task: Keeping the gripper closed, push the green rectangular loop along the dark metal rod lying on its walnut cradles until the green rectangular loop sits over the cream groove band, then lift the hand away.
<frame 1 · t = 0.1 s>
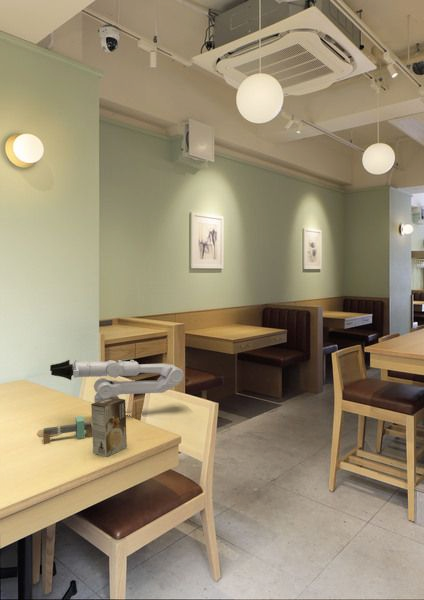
hand: (50, 369, 160), 22 cm above the table, tool horizontal, fingers open, 7 cm apart
green rectangular loop: (80, 427, 151), point 3 cm above the table, slide at 0.0 cm
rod: (68, 437, 150), on the table
coaster: (50, 432, 155), on the table
coffee box: (109, 451, 139), on the table
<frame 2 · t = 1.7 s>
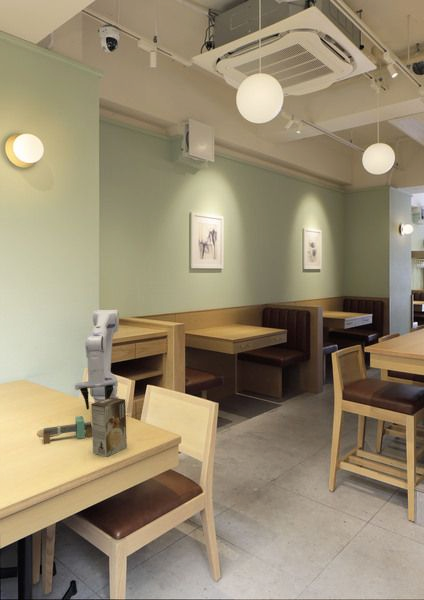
hand: (97, 407, 153), 9 cm above the table, tool pointing down, fingers open, 6 cm apart
nothing on the table moved.
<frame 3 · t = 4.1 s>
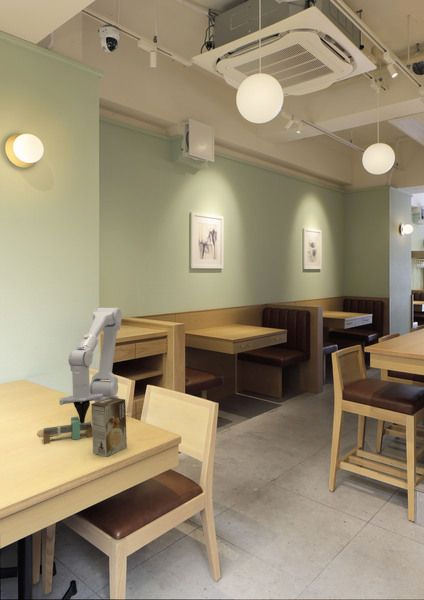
hand: (82, 422, 152), 5 cm above the table, tool pointing down, fingers closed
green rectangular loop: (75, 427, 151), point 3 cm above the table, slide at 1.5 cm, touching gripper
everything else where it was.
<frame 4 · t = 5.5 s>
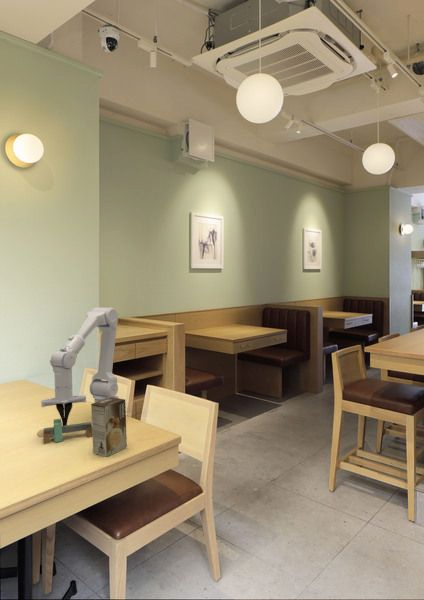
hand: (64, 424, 149), 5 cm above the table, tool pointing down, fingers closed
green rectangular loop: (57, 430, 149), point 3 cm above the table, slide at 7.3 cm, touching gripper
everything else where it was.
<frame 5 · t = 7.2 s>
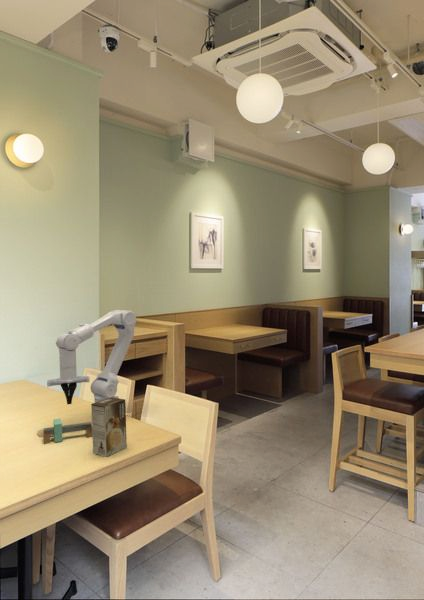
hand: (69, 403, 157), 10 cm above the table, tool pointing down, fingers closed
green rectangular loop: (57, 430, 149), point 3 cm above the table, slide at 7.3 cm
everything else where it was.
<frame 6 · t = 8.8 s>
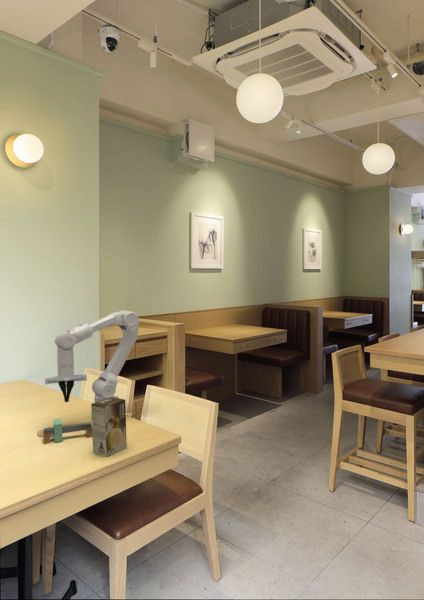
hand: (66, 401, 160), 10 cm above the table, tool pointing down, fingers closed
nothing on the table moved.
at the end: green rectangular loop slide at 7.3 cm; green rectangular loop touching nothing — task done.
